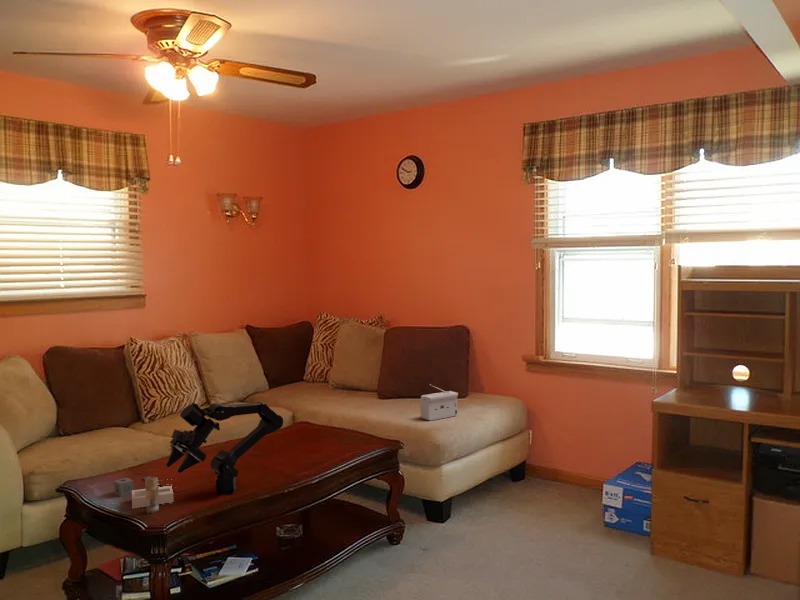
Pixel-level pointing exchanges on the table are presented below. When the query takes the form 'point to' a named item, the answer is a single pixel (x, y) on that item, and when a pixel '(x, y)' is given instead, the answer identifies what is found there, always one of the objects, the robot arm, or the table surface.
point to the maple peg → (152, 493)
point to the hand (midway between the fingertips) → (172, 469)
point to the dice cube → (123, 487)
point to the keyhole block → (164, 497)
